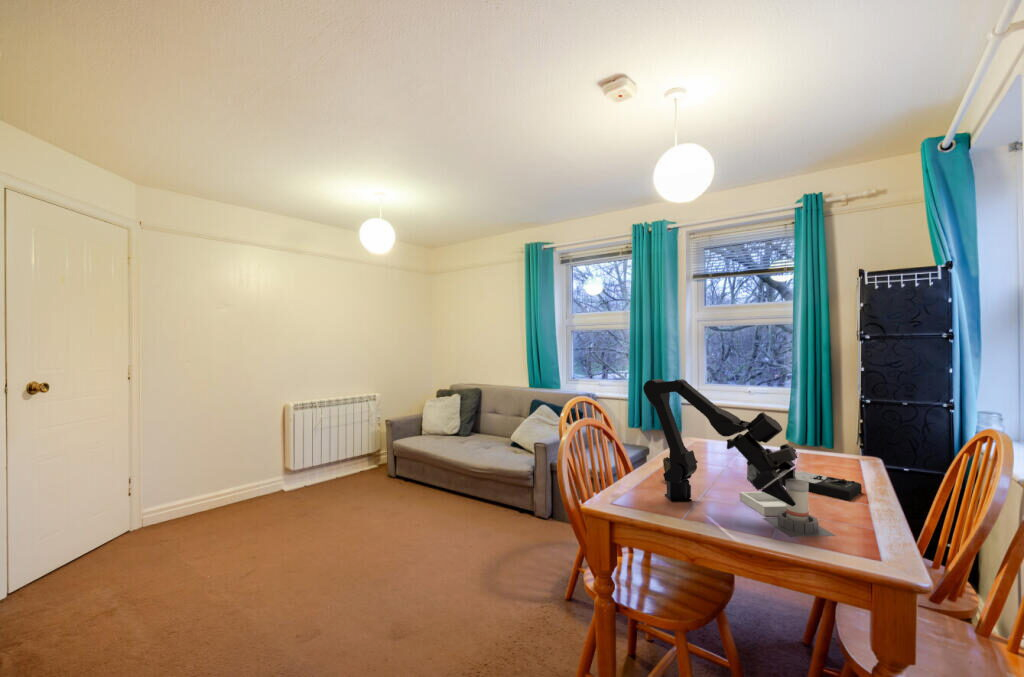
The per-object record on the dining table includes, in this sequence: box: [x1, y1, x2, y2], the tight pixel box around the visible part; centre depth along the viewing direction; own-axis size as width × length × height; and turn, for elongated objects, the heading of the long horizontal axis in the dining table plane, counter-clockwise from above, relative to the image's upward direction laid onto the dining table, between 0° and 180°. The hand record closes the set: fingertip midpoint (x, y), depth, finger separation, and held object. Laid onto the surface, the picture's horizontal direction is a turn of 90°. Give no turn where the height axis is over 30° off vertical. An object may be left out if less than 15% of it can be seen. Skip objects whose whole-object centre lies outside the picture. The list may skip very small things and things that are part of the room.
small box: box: [746, 460, 764, 489], centre depth 158 cm, size 11×6×10 cm, turn 168°
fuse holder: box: [761, 511, 837, 538], centre depth 118 cm, size 12×12×4 cm
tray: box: [739, 491, 786, 517], centre depth 132 cm, size 13×13×4 cm
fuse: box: [785, 479, 810, 522], centre depth 118 cm, size 5×5×12 cm
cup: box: [662, 456, 670, 473], centre depth 161 cm, size 8×7×8 cm
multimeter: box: [795, 470, 863, 502], centre depth 151 cm, size 13×19×5 cm
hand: (799, 501), depth 118 cm, fingers open, 9 cm apart
